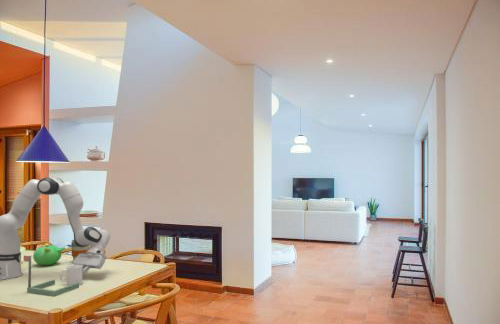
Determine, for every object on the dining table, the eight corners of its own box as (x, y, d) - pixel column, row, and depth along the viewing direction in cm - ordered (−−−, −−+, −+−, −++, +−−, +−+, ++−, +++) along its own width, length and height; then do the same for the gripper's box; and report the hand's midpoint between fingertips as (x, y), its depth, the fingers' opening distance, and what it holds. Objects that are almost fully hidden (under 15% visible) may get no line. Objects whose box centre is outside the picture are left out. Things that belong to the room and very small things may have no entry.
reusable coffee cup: (66, 262, 288) (67, 241, 289) (82, 259, 299) (82, 239, 299) (77, 265, 282) (78, 243, 282) (93, 261, 292) (93, 241, 293)
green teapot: (52, 261, 293) (52, 240, 293) (67, 264, 284) (67, 243, 285) (28, 266, 277) (28, 244, 278) (42, 269, 269) (43, 247, 269)
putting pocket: (47, 283, 235) (48, 249, 236) (78, 287, 228) (79, 252, 228) (21, 291, 219) (22, 255, 219) (54, 296, 211) (55, 258, 212)
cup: (81, 284, 233) (82, 267, 233) (59, 286, 229) (59, 268, 229) (82, 281, 241) (82, 264, 241) (60, 283, 236) (60, 265, 237)
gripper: (78, 249, 254) (65, 268, 244) (104, 251, 247) (93, 271, 238) (83, 255, 258) (71, 274, 249) (109, 257, 251) (98, 277, 242)
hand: (82, 272), depth 243 cm, fingers closed
